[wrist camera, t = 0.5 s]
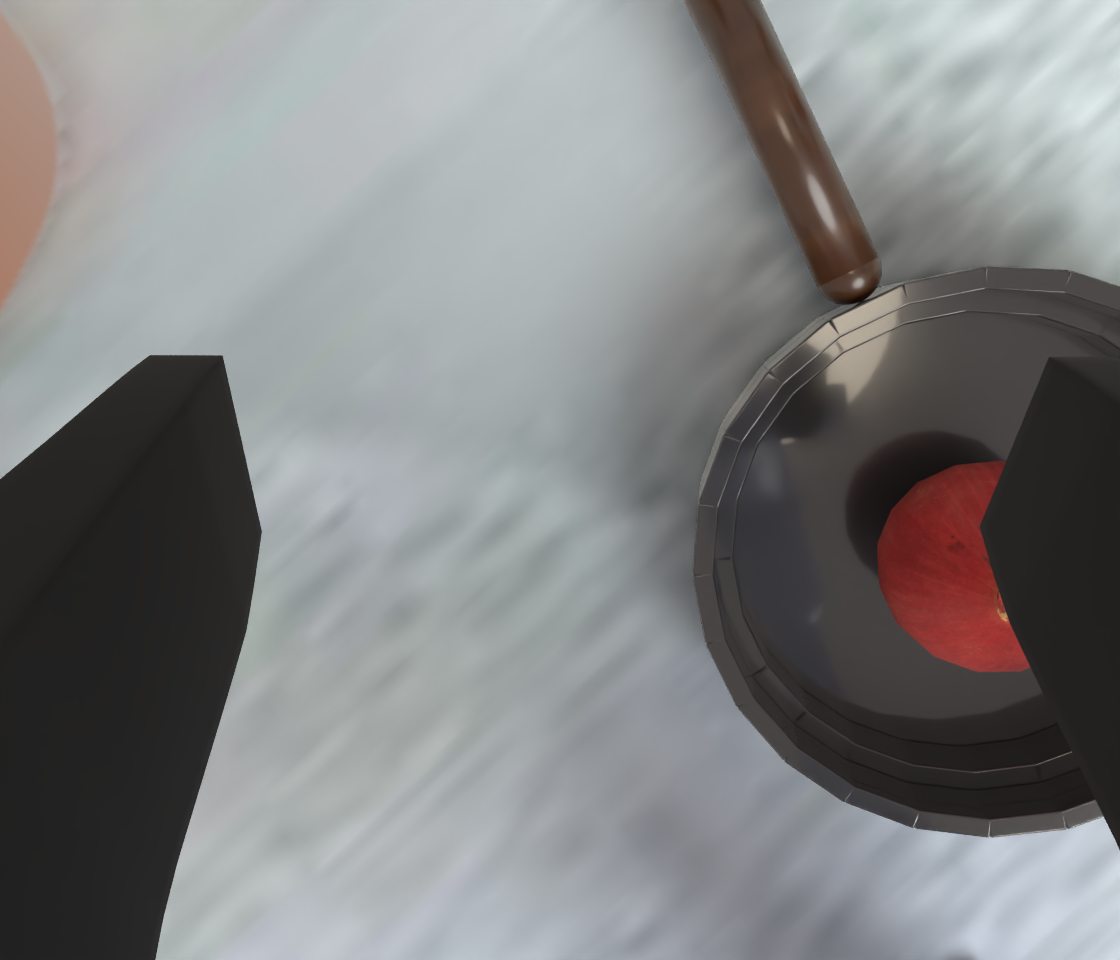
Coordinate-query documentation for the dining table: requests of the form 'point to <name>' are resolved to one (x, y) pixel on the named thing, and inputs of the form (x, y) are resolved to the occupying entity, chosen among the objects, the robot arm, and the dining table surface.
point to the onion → (948, 571)
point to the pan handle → (789, 146)
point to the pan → (851, 547)
